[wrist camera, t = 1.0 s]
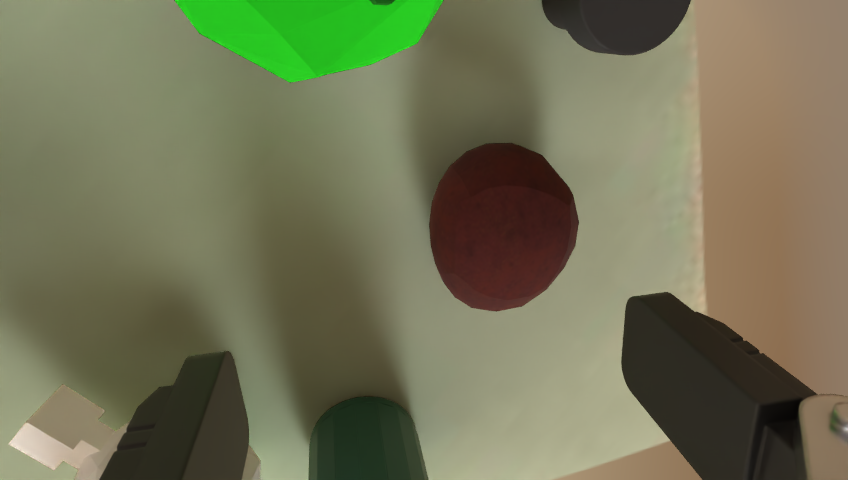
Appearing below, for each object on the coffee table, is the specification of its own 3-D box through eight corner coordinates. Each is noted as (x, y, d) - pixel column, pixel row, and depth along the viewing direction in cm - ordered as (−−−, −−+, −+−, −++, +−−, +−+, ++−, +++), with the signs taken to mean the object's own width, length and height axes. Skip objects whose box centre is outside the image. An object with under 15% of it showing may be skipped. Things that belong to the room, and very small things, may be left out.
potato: (572, 150, 28) (633, 180, 23) (524, 290, 31) (568, 347, 25) (440, 118, 27) (472, 142, 21) (400, 269, 29) (419, 326, 24)
